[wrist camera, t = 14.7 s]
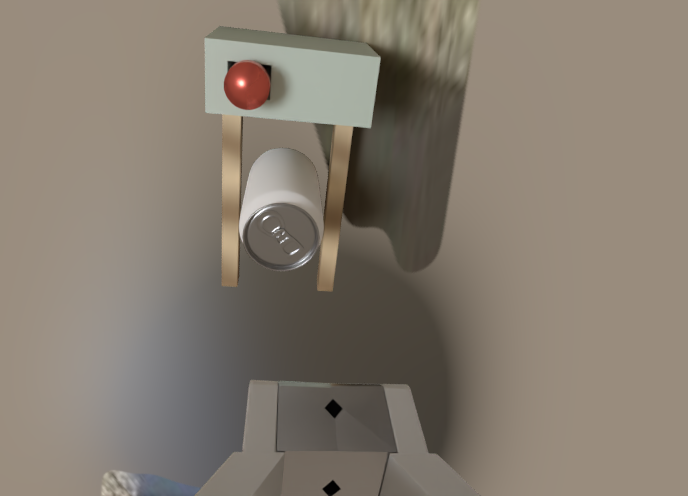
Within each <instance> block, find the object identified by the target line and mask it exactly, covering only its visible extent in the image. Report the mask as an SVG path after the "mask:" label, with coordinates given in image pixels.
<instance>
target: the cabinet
mask: <svg viewBox="0 0 688 496" xmlns="http://www.w3.org/2000/svg"><path fill="white" fill-rule="evenodd" d="M380 59H381V57H380V56H379V55H378V54H377V53H376V52H375V51H374V50H373V49H372V48H371V47H370V46H369V45H368V44H367V43H362V42H353V41H345V40H336V39H327V38H318V37H310V36H301V35H292V34H284V33H275V32H266V31H257V30H249V29H240V28H231V27H223V26H220V27H218V28H217V29H216V30H214V31H213V32H212V33H210V34H209V35H208V36H206V37H205V103H206V104H205V106H206V107H205V110H206V113H214V114H225V115H235V116H247V117H257V118H268V119H279V120H289V121H300V122H311V123H322V124H333V125H343V126H354V127H365V128H371V123H372V116H373V109H374V102H375V94H376V87H377V80H378V73H379V66H380ZM242 60H252V61H255V62H257V63H259V64H263V65H265V67H266V71H267V72H268V75H269V77H270V91H269V96H268V98H267V100H266V101H265V103H264V104H263V105H261V106H260V107H258V108H256V109H253V110H244V109H240V108H238V107H236V106H234V105H233V104H232V103H231V102H230V101H229V100H228V98H227V96H226V94H225V91H224V79H225V76H226V74H227V72H228V71H229V69H230V68H231V67H232V66H233V65H234V64H235V63H237V62H239V61H242Z"/></svg>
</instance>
